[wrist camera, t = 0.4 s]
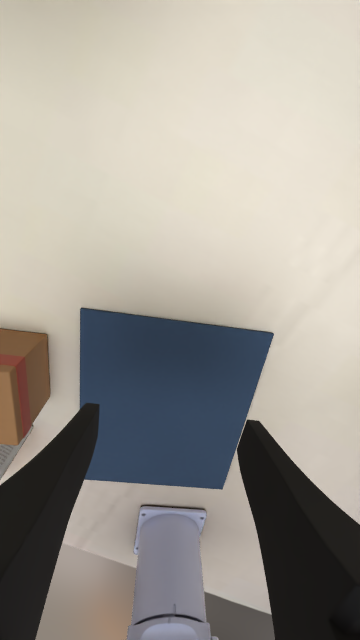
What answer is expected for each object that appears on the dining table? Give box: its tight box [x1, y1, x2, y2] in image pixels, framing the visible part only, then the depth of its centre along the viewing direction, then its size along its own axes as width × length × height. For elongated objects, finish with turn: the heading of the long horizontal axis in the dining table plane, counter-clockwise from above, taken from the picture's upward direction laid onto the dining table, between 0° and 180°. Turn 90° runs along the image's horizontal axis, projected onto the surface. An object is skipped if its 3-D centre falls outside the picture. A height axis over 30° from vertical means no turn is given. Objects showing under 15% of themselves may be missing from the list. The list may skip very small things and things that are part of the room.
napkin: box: [80, 308, 274, 489], centre depth 25 cm, size 20×16×1 cm
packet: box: [0, 329, 50, 445], centre depth 20 cm, size 7×5×6 cm
